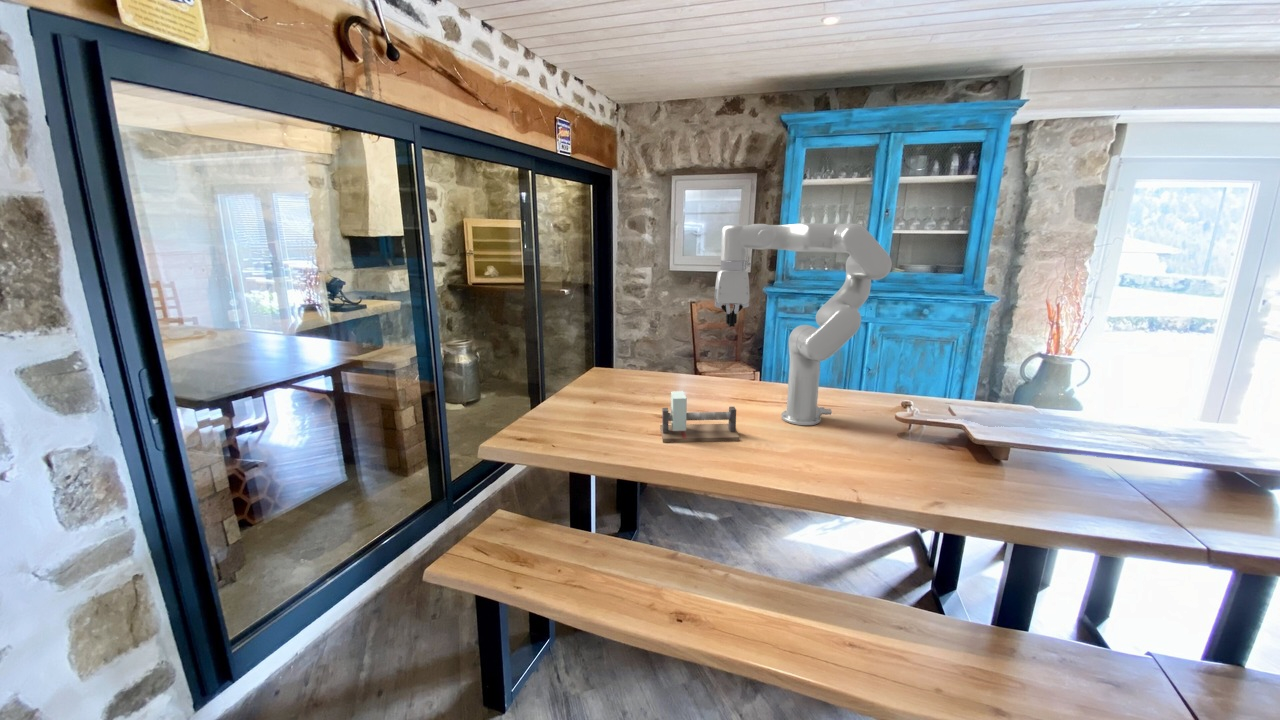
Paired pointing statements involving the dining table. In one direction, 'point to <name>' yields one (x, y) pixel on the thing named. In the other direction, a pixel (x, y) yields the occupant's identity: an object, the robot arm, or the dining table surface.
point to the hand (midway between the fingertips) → (731, 325)
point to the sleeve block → (678, 410)
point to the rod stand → (701, 427)
